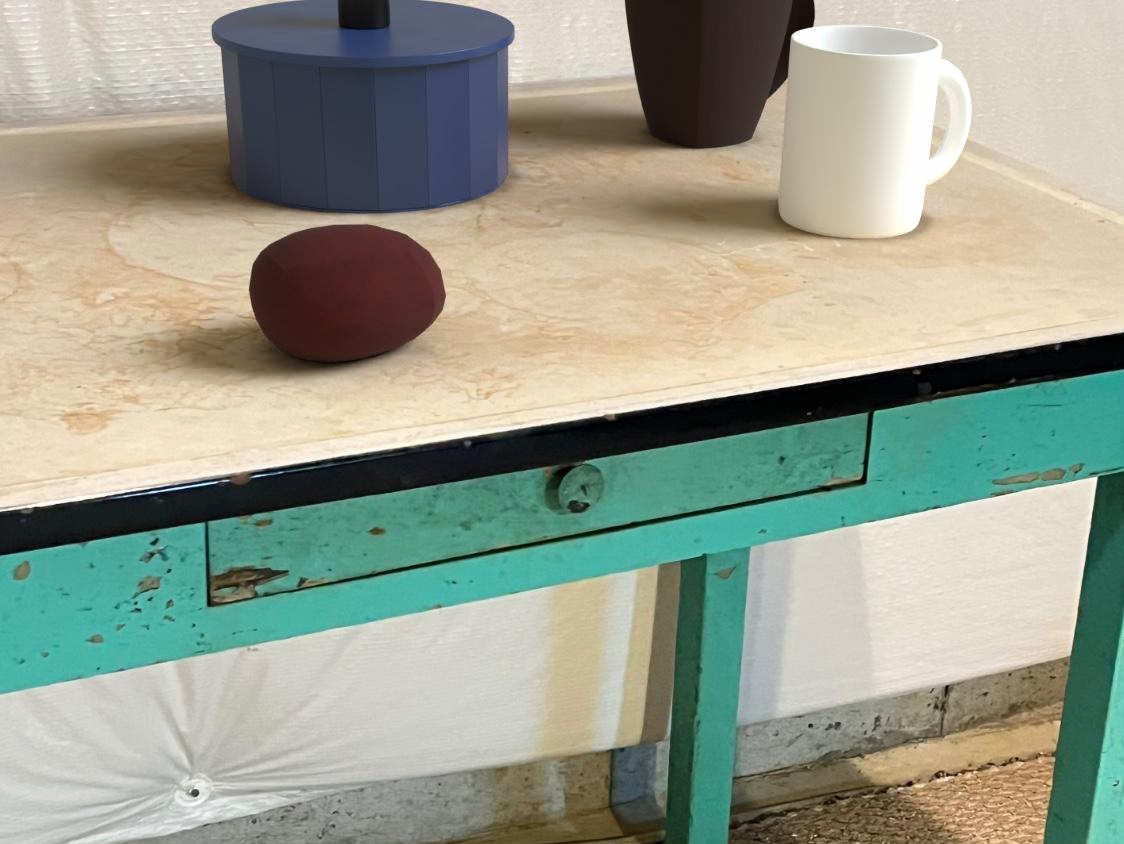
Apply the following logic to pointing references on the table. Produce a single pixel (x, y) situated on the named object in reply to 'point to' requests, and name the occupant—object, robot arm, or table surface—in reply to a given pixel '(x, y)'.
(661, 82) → the mug
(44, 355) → the table surface
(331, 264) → the potato
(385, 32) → the lid
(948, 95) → the mug
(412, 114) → the pot
